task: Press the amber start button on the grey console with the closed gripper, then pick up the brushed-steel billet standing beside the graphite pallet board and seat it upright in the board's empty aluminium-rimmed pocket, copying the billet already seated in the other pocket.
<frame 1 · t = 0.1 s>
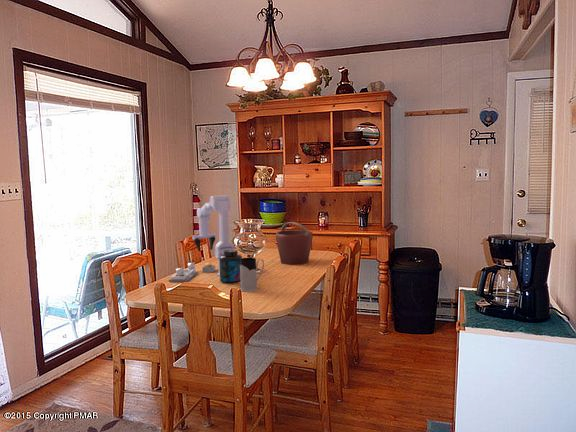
hand: (205, 250, 280), 10 cm above the table, fingers open, 7 cm apart
pallet board: (184, 277, 254), on the table
console: (209, 271, 268), on the table
billet: (191, 271, 268), on the table
start button: (208, 266, 268), point 3 cm above the table, slide at 0.0 cm
seated billet: (180, 280, 248), resting on pallet board
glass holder: (253, 288, 227), on the table
bucket: (293, 262, 287), on the table
container: (231, 281, 243), on the table
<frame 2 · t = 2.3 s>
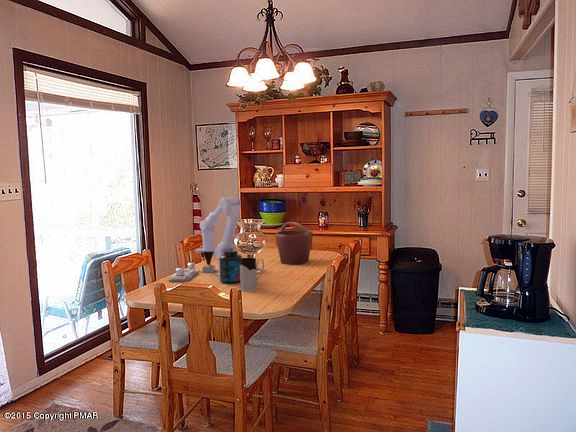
hand: (208, 264, 268), 4 cm above the table, fingers closed, pressing on start button
start button: (208, 267, 268), point 2 cm above the table, slide at 0.6 cm, touching gripper
everything else where it was.
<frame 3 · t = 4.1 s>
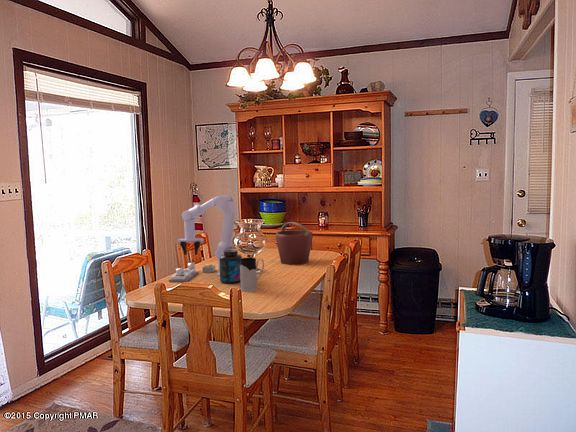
hand: (190, 254, 267), 10 cm above the table, fingers open, 6 cm apart
start button: (208, 267, 268), point 2 cm above the table, slide at 0.6 cm
everything else where it was.
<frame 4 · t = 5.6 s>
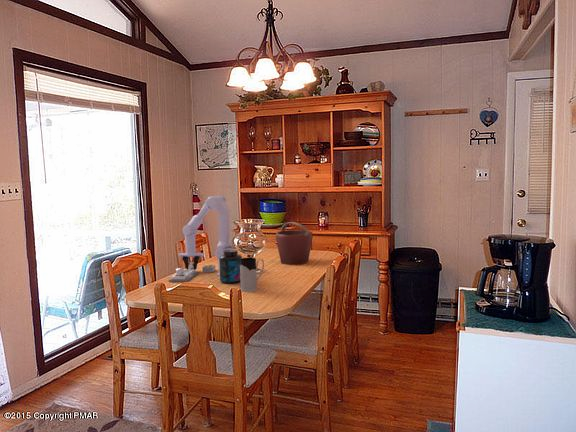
hand: (191, 269, 268), 1 cm above the table, fingers closed on billet, 4 cm apart
billet: (191, 271, 268), on the table, touching gripper
everything else where it was.
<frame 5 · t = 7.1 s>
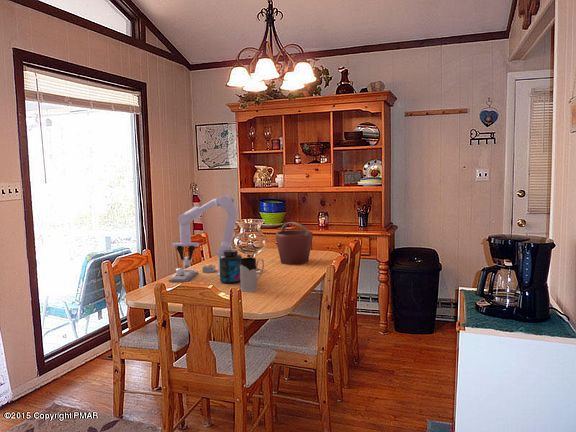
hand: (186, 259, 259), 9 cm above the table, fingers closed on billet, 4 cm apart
billet: (187, 266, 260), point 5 cm above the table, touching gripper
everything else where it was.
when the fingers open (4 cm above the table, at t = 8.6 s): billet stays where it is, resting on pallet board.
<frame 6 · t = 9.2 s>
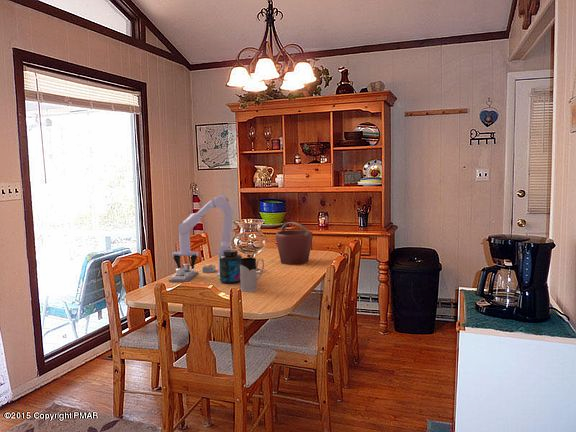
hand: (186, 268, 258), 4 cm above the table, fingers open, 7 cm apart
billet: (186, 273, 259), point 1 cm above the table, touching pallet board
everything else where it was.
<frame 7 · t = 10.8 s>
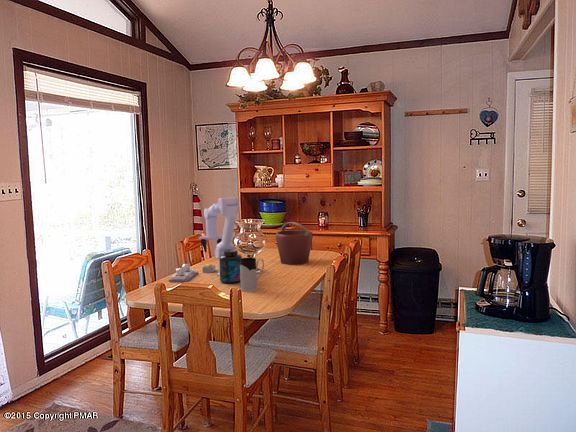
hand: (212, 252, 271), 10 cm above the table, fingers open, 7 cm apart
nothing on the table moved.
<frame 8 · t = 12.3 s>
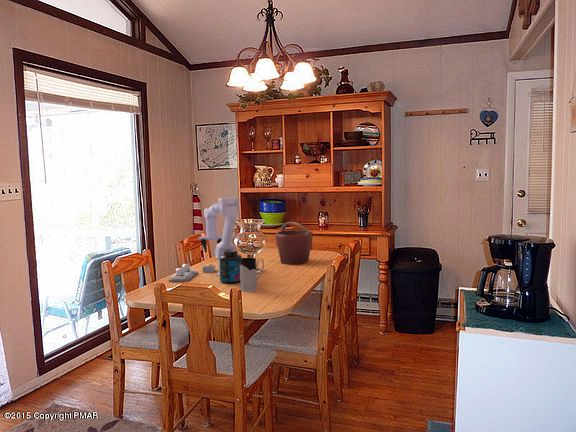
hand: (212, 252, 271), 10 cm above the table, fingers open, 7 cm apart
nothing on the table moved.
at the end: billet 0.5 cm from the target spot on the pallet board, point 1.2 cm above the pallet board's base; billet tilted 0°; start button slide at 0.6 cm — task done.
